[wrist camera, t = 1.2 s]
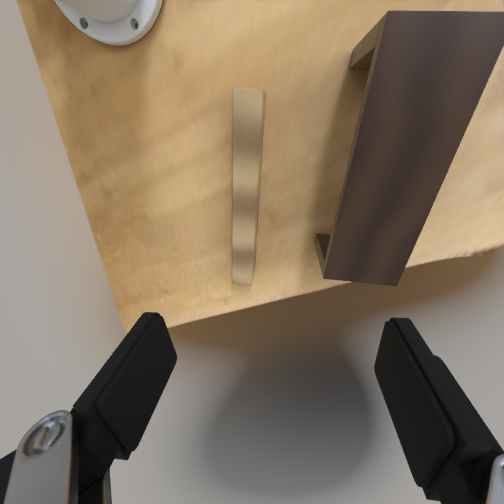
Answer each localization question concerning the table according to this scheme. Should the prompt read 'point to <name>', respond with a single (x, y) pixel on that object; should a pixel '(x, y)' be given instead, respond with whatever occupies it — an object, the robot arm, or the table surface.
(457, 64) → the dark brown channel bracket
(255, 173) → the stick
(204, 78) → the table surface
